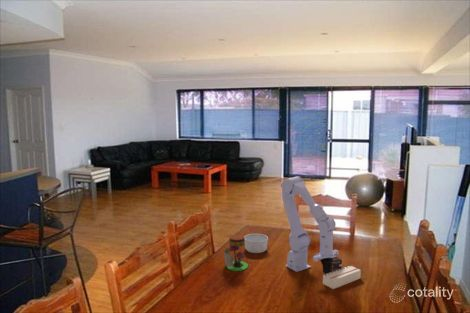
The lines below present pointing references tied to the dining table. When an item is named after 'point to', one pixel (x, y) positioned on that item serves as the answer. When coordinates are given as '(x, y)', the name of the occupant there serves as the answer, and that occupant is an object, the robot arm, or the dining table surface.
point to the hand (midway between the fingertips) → (325, 272)
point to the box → (335, 264)
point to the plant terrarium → (234, 245)
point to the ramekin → (256, 243)
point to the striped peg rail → (341, 277)
